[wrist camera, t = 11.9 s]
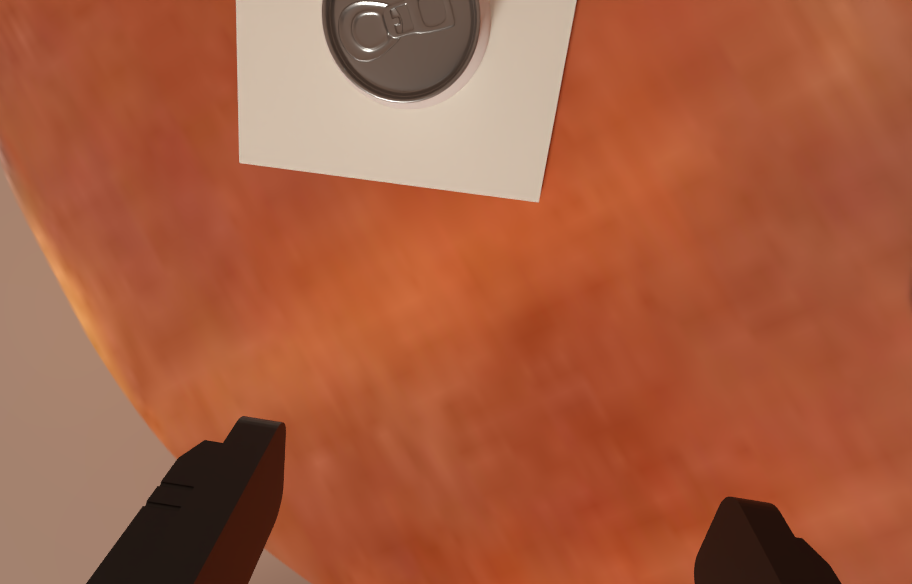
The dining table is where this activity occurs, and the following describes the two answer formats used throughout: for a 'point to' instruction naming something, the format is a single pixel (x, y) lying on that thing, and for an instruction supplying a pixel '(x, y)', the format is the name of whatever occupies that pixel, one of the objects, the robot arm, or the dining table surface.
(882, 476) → the dining table surface
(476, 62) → the can
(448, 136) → the tile mat
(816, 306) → the dining table surface
